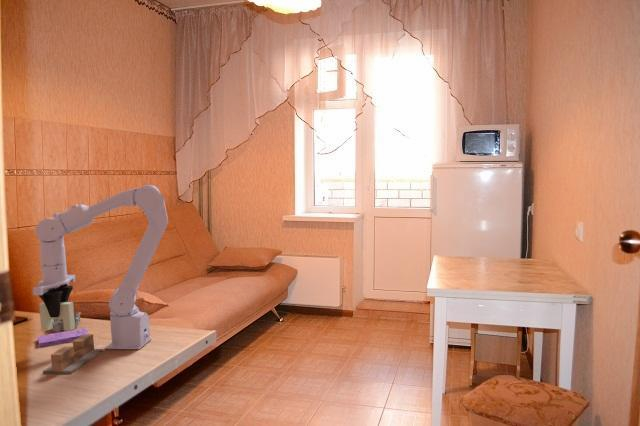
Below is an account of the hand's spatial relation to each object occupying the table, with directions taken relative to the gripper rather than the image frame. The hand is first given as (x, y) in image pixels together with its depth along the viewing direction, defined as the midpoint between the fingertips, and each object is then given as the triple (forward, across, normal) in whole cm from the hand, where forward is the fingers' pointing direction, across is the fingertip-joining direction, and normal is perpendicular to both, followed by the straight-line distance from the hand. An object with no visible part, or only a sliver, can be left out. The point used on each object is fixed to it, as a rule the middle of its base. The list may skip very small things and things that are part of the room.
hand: (57, 315), depth 127 cm
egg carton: (+10, -21, -12) cm, 26 cm away
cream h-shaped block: (+4, 0, 0) cm, 4 cm away
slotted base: (+10, +6, +8) cm, 14 cm away
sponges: (+11, -10, -5) cm, 15 cm away
